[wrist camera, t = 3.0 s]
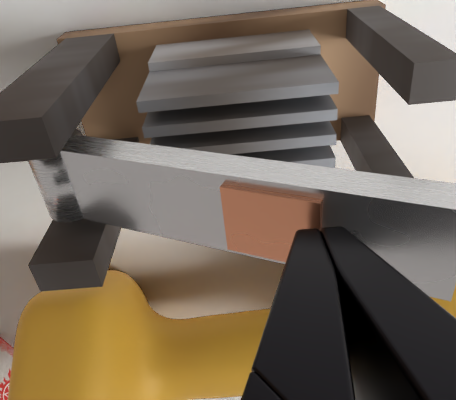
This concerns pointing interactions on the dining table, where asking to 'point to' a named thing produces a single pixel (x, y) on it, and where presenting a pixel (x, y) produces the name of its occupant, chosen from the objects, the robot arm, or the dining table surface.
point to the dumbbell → (131, 347)
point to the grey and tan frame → (218, 100)
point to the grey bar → (253, 203)
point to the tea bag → (5, 368)
